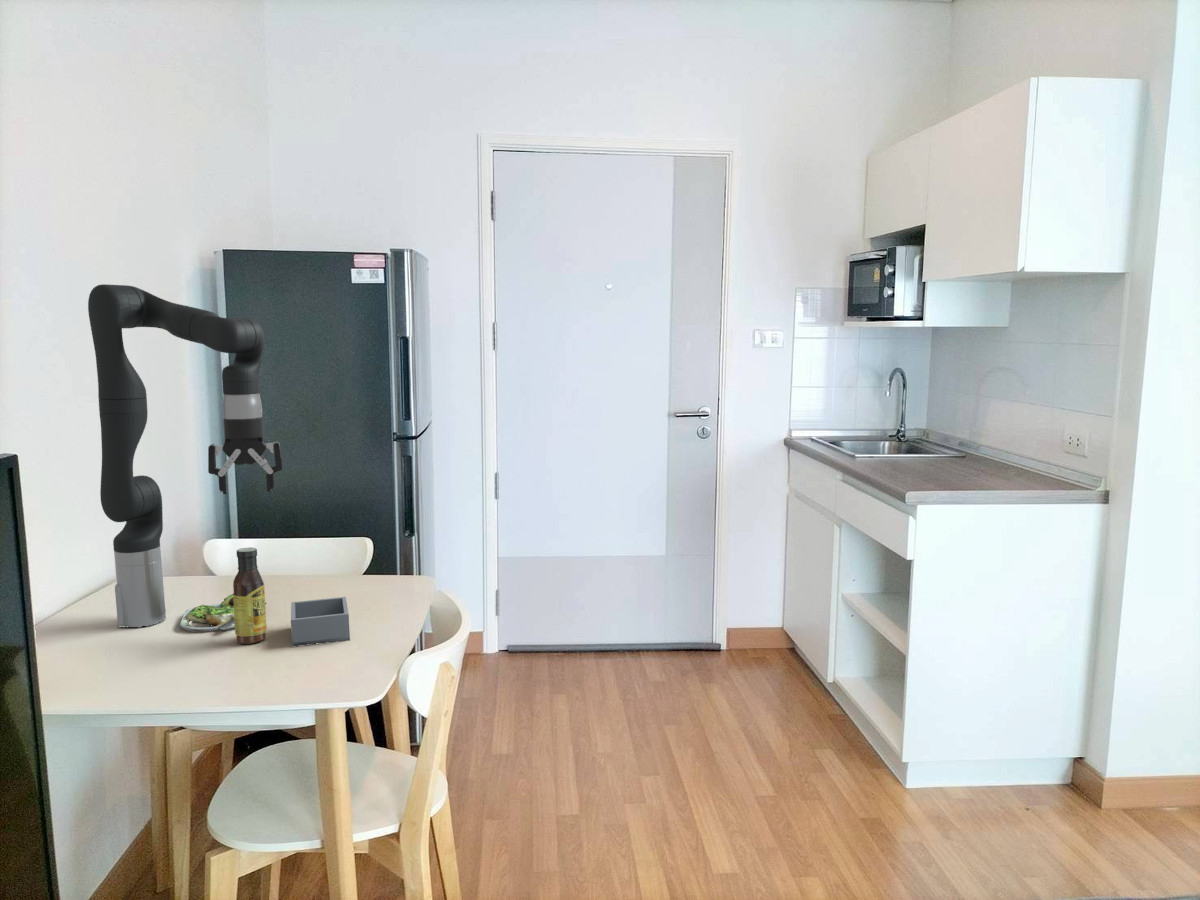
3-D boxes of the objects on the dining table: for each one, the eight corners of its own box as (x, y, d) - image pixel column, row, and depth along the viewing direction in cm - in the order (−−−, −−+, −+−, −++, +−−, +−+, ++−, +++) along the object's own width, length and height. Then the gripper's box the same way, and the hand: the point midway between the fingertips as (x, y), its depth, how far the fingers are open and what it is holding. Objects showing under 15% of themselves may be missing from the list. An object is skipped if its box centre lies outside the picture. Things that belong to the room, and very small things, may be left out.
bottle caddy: (292, 646, 180) (290, 620, 179) (292, 627, 192) (291, 602, 191) (349, 640, 184) (348, 614, 183) (346, 621, 196) (345, 596, 195)
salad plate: (262, 632, 190) (260, 612, 189) (172, 641, 184) (171, 621, 184) (268, 605, 208) (266, 587, 207) (187, 613, 203) (185, 594, 202)
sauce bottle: (260, 645, 181) (254, 553, 178) (230, 645, 181) (224, 553, 178) (272, 634, 187) (266, 545, 185) (244, 634, 188) (238, 545, 185)
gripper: (203, 418, 173) (208, 498, 175) (278, 416, 177) (283, 493, 180) (207, 415, 180) (212, 491, 182) (280, 412, 184) (284, 487, 187)
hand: (247, 492), depth 181 cm, fingers open, 8 cm apart
